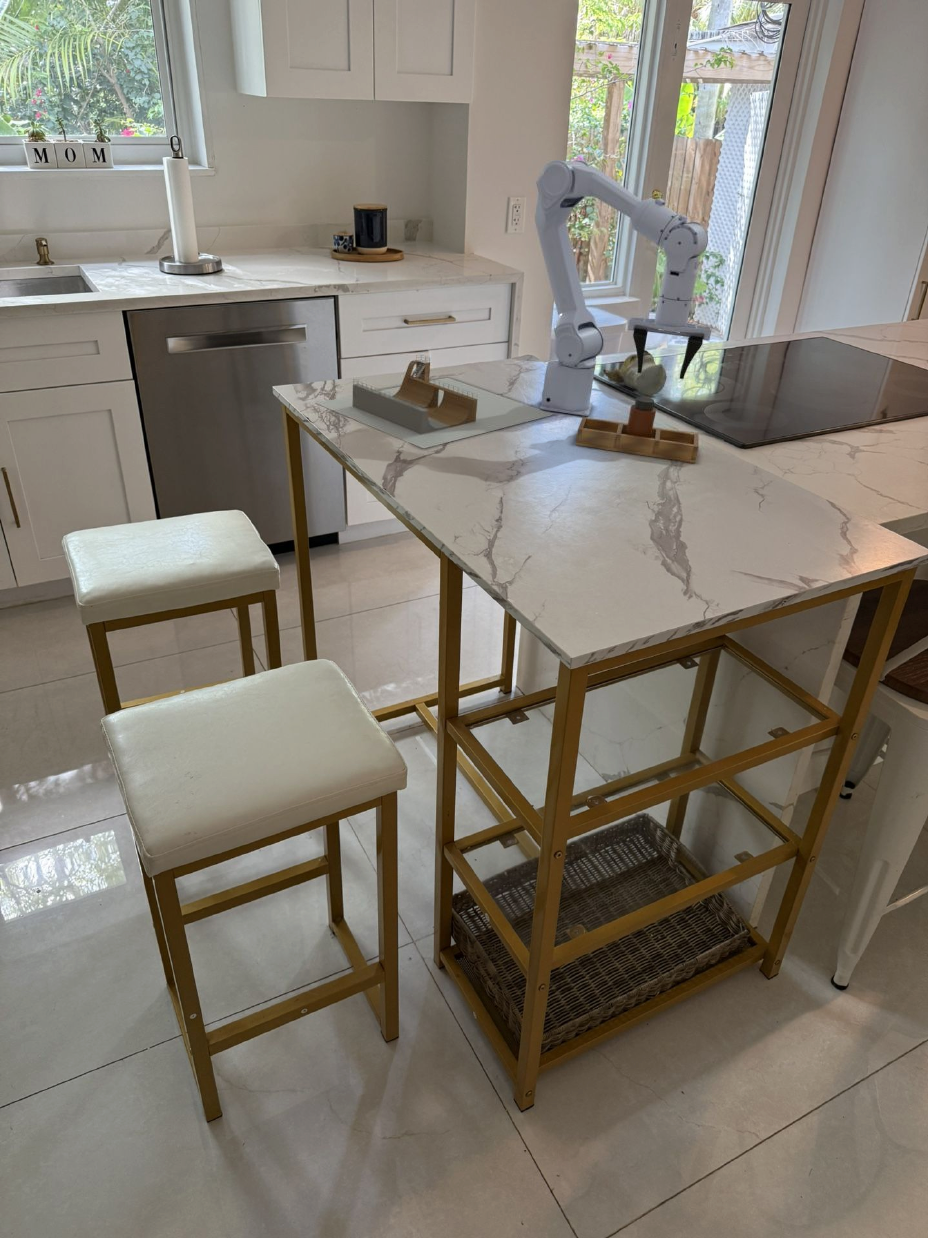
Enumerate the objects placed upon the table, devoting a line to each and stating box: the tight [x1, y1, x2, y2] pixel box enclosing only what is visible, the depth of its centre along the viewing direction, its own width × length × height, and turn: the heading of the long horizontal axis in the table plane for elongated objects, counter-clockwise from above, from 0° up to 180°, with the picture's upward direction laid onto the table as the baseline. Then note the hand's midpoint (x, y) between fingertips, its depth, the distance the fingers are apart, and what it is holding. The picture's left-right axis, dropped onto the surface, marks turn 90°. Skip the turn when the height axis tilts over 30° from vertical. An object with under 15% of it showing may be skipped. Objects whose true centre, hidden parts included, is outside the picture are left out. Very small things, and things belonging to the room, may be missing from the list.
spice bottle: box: [626, 396, 657, 438], centre depth 155 cm, size 4×4×8 cm
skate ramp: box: [315, 354, 555, 449], centre depth 165 cm, size 29×35×8 cm
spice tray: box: [575, 416, 700, 464], centre depth 157 cm, size 21×8×3 cm, turn 77°
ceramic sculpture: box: [602, 349, 668, 397], centre depth 190 cm, size 11×9×15 cm
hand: (660, 374), depth 162 cm, fingers open, 7 cm apart
